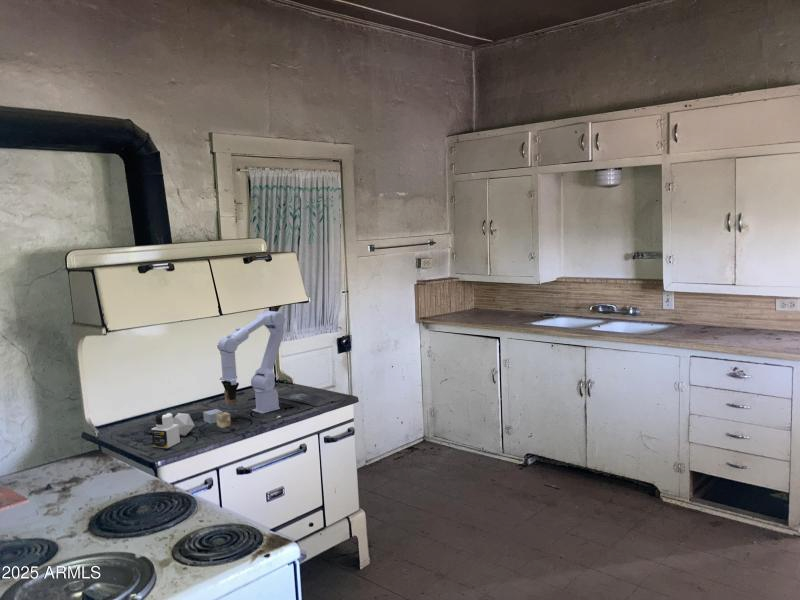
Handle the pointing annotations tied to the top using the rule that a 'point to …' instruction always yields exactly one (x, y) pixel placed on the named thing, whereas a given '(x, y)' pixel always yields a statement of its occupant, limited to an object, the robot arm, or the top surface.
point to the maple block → (223, 420)
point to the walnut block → (228, 398)
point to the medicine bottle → (165, 431)
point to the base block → (211, 415)
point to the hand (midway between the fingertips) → (231, 398)
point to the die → (183, 423)
